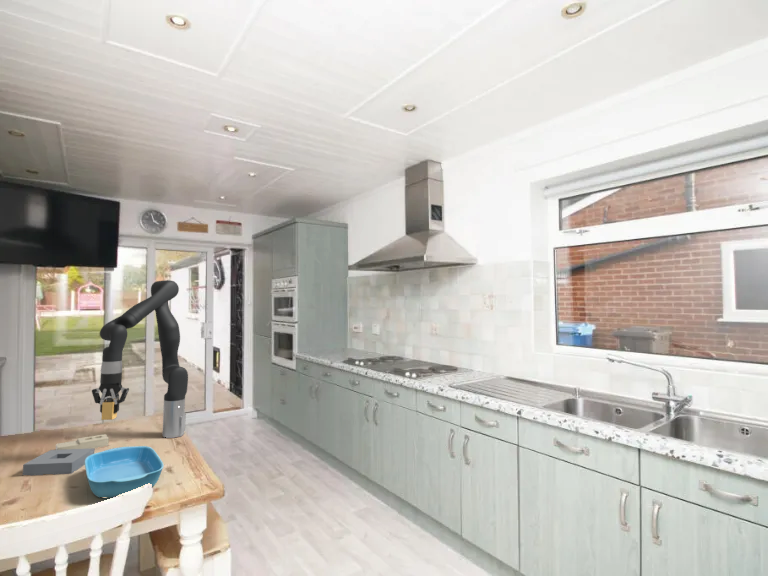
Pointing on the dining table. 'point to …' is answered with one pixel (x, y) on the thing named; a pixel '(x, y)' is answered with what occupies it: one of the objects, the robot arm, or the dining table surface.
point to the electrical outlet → (85, 443)
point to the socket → (57, 462)
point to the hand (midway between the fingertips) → (109, 412)
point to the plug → (108, 409)
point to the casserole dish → (122, 470)
